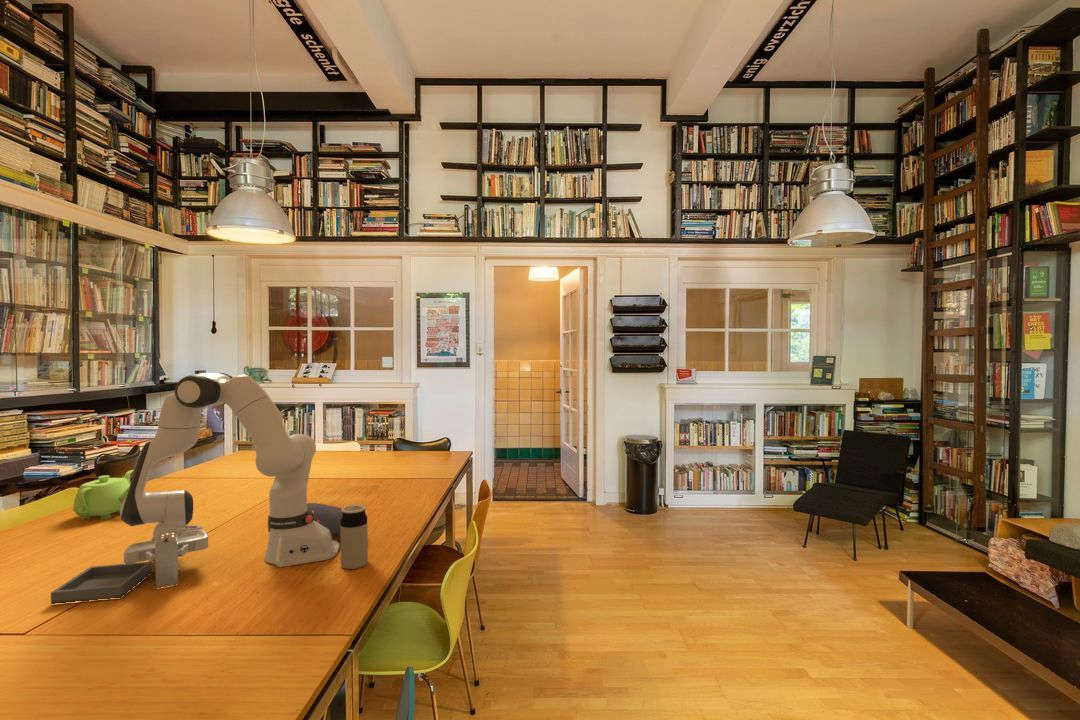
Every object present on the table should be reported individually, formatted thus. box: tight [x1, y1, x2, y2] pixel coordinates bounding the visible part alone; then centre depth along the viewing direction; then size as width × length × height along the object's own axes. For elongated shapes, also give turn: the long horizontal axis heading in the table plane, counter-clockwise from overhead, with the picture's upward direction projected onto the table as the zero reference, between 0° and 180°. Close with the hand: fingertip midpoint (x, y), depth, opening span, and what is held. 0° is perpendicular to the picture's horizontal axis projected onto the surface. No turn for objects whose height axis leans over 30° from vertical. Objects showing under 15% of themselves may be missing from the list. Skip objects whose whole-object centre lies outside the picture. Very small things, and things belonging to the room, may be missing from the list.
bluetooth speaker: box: [307, 502, 343, 537], centre depth 184 cm, size 23×9×10 cm, turn 62°
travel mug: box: [340, 504, 369, 570], centre depth 158 cm, size 8×8×18 cm
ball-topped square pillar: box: [155, 533, 179, 590], centre depth 144 cm, size 5×5×15 cm
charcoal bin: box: [50, 561, 154, 605], centre depth 142 cm, size 16×16×4 cm
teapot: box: [73, 469, 135, 520], centre depth 205 cm, size 25×22×16 cm
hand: (166, 556), depth 144 cm, fingers closed on ball-topped square pillar, 5 cm apart
